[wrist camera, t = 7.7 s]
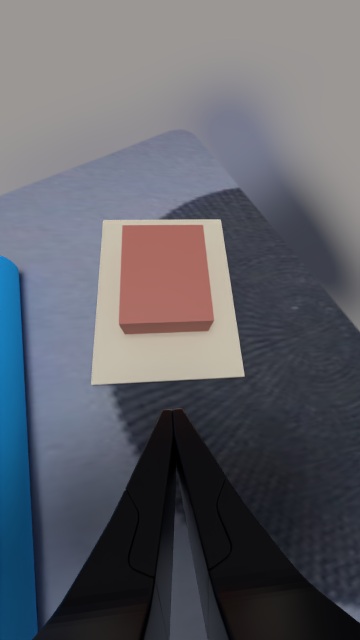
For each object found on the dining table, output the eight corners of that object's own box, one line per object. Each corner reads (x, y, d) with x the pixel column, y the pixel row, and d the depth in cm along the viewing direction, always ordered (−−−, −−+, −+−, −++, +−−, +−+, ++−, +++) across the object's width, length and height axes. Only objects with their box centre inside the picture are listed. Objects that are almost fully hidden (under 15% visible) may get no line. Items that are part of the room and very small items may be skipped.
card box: (214, 320, 17) (203, 224, 20) (118, 324, 16) (122, 225, 19) (208, 331, 19) (199, 244, 22) (124, 334, 19) (127, 245, 22)
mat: (242, 377, 19) (244, 376, 18) (92, 385, 18) (90, 384, 17) (219, 223, 24) (220, 219, 24) (104, 223, 23) (103, 220, 23)
